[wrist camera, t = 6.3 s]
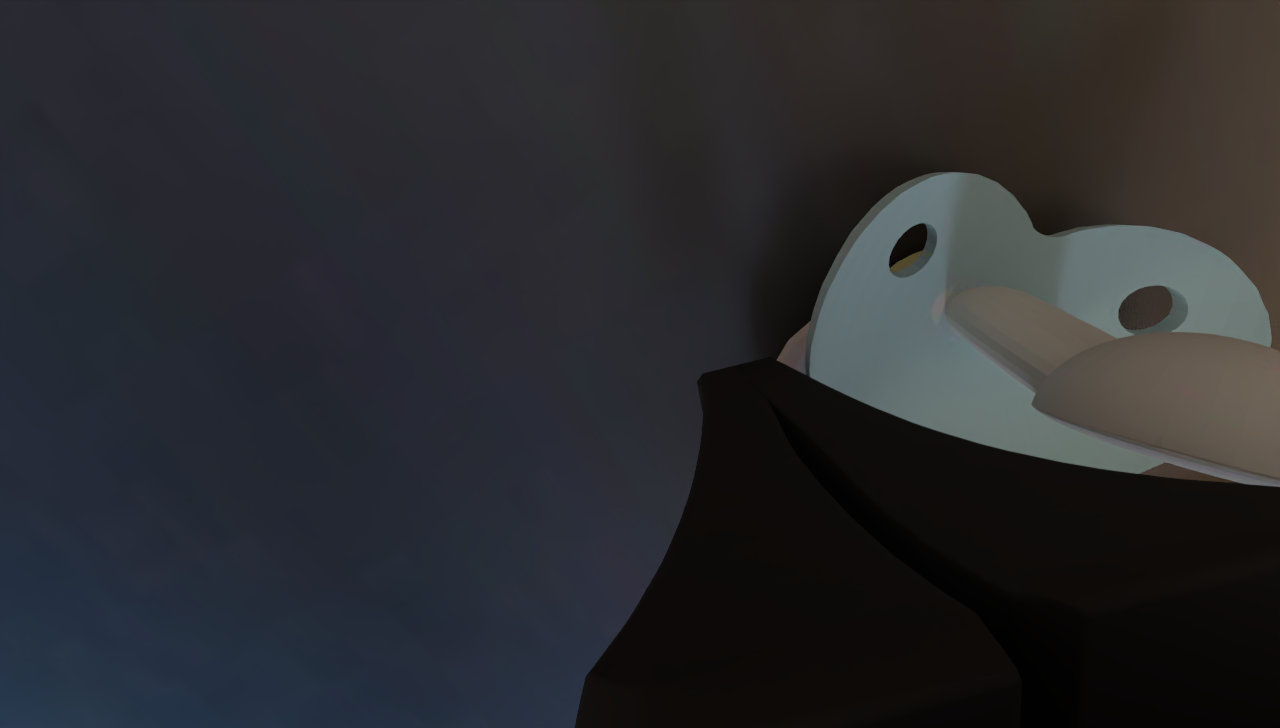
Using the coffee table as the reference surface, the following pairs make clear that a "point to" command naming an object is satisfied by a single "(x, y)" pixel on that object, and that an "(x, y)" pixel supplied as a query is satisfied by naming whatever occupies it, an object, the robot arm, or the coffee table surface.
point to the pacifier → (1048, 336)
